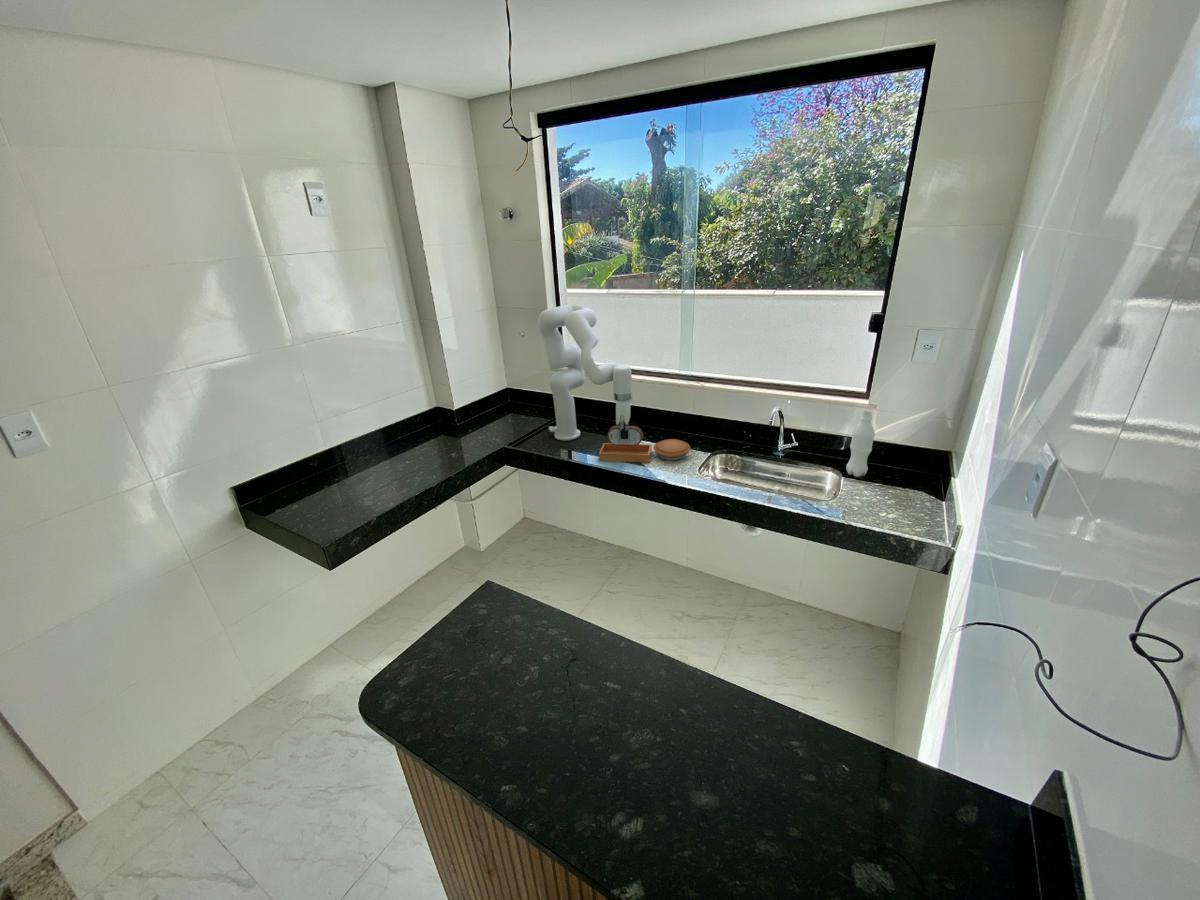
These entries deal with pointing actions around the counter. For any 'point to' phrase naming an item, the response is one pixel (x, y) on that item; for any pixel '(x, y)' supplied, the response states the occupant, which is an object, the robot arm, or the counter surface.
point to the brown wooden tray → (625, 453)
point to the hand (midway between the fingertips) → (625, 436)
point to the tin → (633, 436)
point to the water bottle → (861, 446)
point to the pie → (672, 449)
